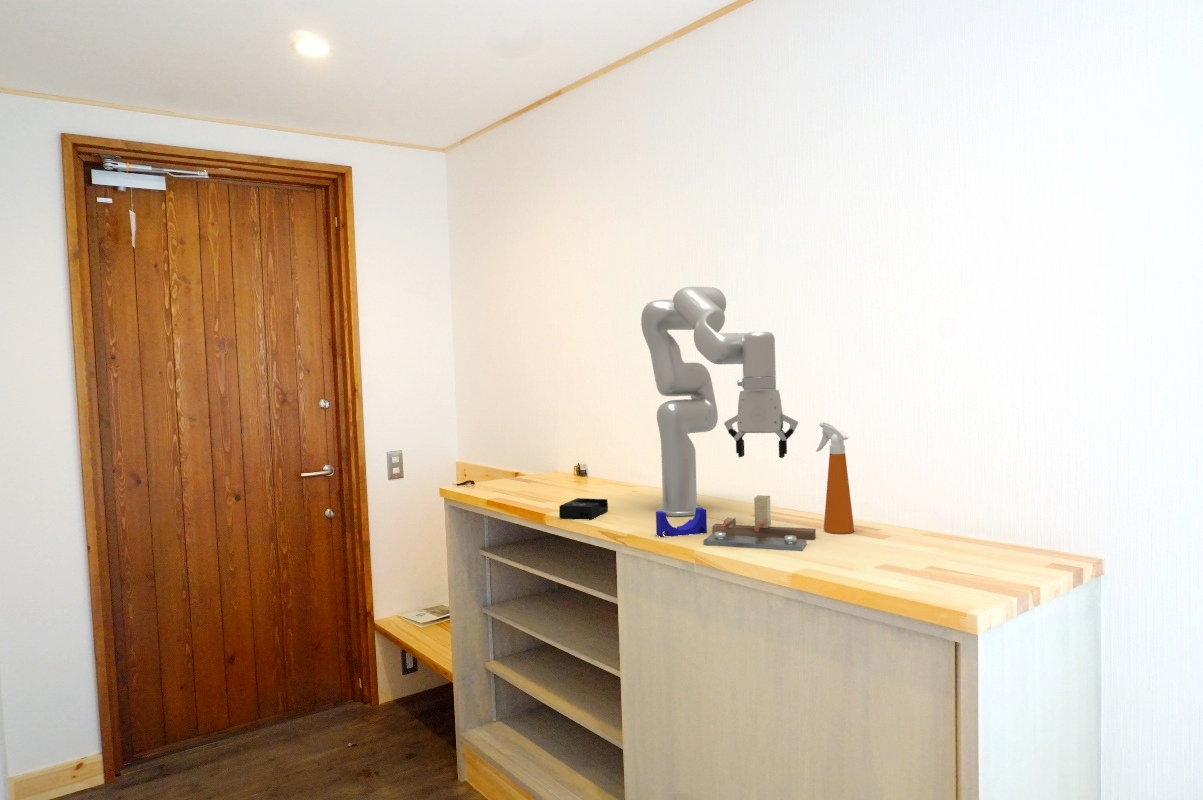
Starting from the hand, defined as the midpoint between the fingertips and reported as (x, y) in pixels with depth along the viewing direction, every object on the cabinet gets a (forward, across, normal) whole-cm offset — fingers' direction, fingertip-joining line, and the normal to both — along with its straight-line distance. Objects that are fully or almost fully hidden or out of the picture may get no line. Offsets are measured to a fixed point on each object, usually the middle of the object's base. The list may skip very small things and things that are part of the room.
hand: (761, 456), depth 185 cm
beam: (+19, 0, -2) cm, 19 cm away
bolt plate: (+19, 0, -8) cm, 21 cm away
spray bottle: (+19, +14, +12) cm, 27 cm away
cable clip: (+19, -20, -2) cm, 28 cm away
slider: (+17, 0, -2) cm, 17 cm away
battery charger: (+19, -54, +14) cm, 59 cm away
